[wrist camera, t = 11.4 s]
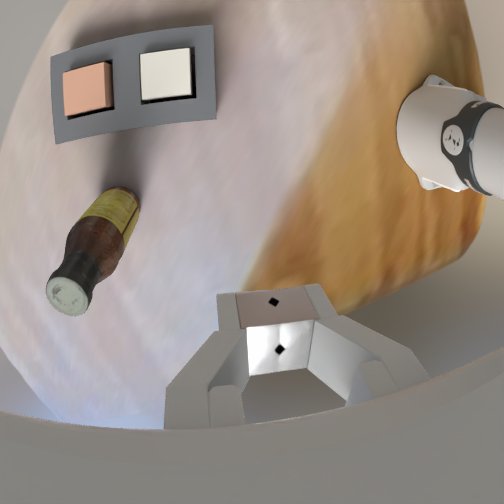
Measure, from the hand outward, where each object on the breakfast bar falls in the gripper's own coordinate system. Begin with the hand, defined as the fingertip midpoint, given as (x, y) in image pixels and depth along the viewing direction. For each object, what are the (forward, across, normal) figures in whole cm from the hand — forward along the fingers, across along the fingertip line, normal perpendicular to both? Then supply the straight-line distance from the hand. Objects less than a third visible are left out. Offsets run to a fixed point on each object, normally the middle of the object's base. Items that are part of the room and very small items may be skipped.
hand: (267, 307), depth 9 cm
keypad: (+31, +10, -10) cm, 34 cm away
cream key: (+28, +6, -10) cm, 31 cm away
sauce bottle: (+31, +14, +6) cm, 35 cm away
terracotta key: (+28, +14, -10) cm, 33 cm away
